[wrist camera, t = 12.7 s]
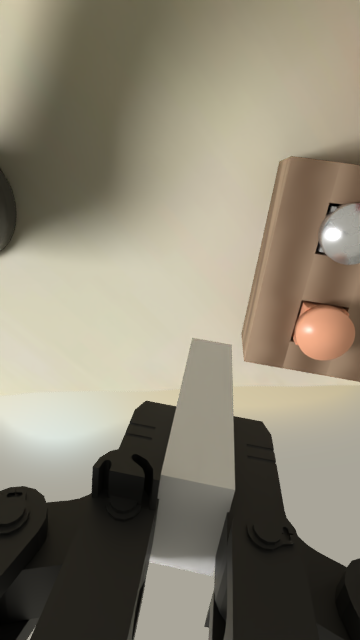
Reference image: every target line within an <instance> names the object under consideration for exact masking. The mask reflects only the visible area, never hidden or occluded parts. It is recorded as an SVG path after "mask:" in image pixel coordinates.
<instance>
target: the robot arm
mask: <svg viewBox="0 0 360 640" xmlns="http://www.w3.org/2000/svg"><path fill="white" fill-rule="evenodd" d="M15 222H16V207H15V201H14V197H13V193H12V191H11V188H10V186H9V183H8V181H7V179H6V178H5V176H4V174H3V173H2V171H1V170H0V251H1V250H2V249H3V248H4V247H5V246H6V245H7V244H8V242H9V241H10V239H11V237H12V234H13V232H14V228H15ZM273 450H274V449H273V443H272V437H271V434H270V433H269V431H268V430H267V428H266V427H265V425H264V424H263V422H261V421H255V420H251V419H245V418H240V417H235V416H233V381H232V345H230V344H224V343H218V342H213V341H207V340H201V339H195V338H192V342H191V346H190V350H189V355H188V359H187V363H186V368H185V372H184V376H183V381H182V385H181V389H180V394H179V398H178V402H177V407H176V406H171V405H166V404H160V403H155V402H150V401H145V402H144V403H143V404H141V405H140V406H139V407H138V408H137V409H135V411H134V414H133V416H132V419H131V421H130V424H129V426H128V428H127V430H126V433H125V436H124V438H123V440H122V443H121V445H120V447H119V449H118V450H113V451H110V452H108V453H107V454H105V455H103V456H102V457H100V458H99V459H98V461H97V462H96V463H95V465H94V466H93V477H92V493H91V494H89V495H87V496H85V497H82V498H80V499H75V500H70V501H59V502H49V503H46V501H45V498H44V496H43V495H42V494H41V493H39V492H38V491H37V490H36V489H32V488H28V487H24V486H21V487H10V488H7V489H5V490H2V491H0V640H27V638H28V637H29V635H30V634H31V632H32V631H33V629H34V628H35V630H34V632H33V634H32V636H31V639H30V640H134V637H135V632H136V627H137V622H138V617H139V612H140V607H141V603H142V598H143V593H144V587H145V579H146V574H147V569H148V564H149V562H152V563H157V564H160V565H165V566H170V567H174V568H179V569H183V570H187V571H192V572H196V573H201V574H205V575H209V576H213V572H214V568H215V587H214V592H213V596H212V599H211V602H210V606H209V610H208V614H207V618H206V622H205V627H209V640H360V559H356V560H353V561H351V563H350V564H349V565H348V567H345V566H343V565H341V564H340V563H338V562H336V561H334V560H332V559H330V558H328V557H326V556H324V555H322V554H321V553H319V552H317V551H316V550H314V549H313V548H311V547H309V546H308V545H307V544H306V543H304V541H302V540H301V539H300V538H299V537H298V535H297V533H296V530H295V528H294V527H293V526H292V524H291V523H290V522H289V521H288V519H287V518H286V515H285V511H284V506H283V500H282V494H281V489H280V483H279V478H278V472H277V466H276V464H275V462H276V460H275V454H274V452H273ZM35 626H36V627H35Z"/></svg>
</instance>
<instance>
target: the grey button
mask: <svg viewBox="0 0 360 640" xmlns="http://www.w3.org/2000/svg"><path fill="white" fill-rule="evenodd" d="M316 250H317V251H319V252H324V253H325V254H326V255H327V256H328V257H330V258H331V259H332V260H334V261H336V262H338V263H340V264H345V265H353V264H358V263H360V203H347V204H343V205H340V206H333V205H329V206H328V210H327V213H326V217H325V218H324V220H323V221H322V223H321V225H320V228H319V232H318V245H317V248H316Z"/></svg>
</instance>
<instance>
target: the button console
mask: <svg viewBox="0 0 360 640" xmlns="http://www.w3.org/2000/svg"><path fill="white" fill-rule="evenodd" d="M347 203H360V165H355V164H347V163H340V162H332V161H324V160H317V159H309V158H302V157H294V156H291V157H289V158H287V159H284V160H282V161H280V162H279V166H278V171H277V175H276V180H275V184H274V189H273V193H272V198H271V203H270V207H269V212H268V216H267V221H266V225H265V230H264V234H263V239H262V243H261V248H260V252H259V257H258V262H257V266H256V271H255V275H254V280H253V284H252V289H251V293H250V298H249V302H248V307H247V311H246V316H245V321H244V325H243V330H242V344H243V354H244V361H246V362H251V363H257V364H263V365H268V366H274V367H279V368H285V369H291V370H296V371H302V372H308V373H313V374H319V375H325V376H330V377H336V378H342V379H347V380H353V381H358V382H360V263H358V264H353V265H345V264H340V263H338V262H336V261H334V260H332V259H331V258H330V257H328V256H327V255H326V254H325V253H324V252H319V251H317V250H316V248H317V245H318V232H319V228H320V225H321V223H322V221H323V220H324V218H325V217H326V213H327V210H328V206H329V205H333V206H340V205H343V204H347ZM302 300H305V301H311V302H317V303H323V304H329V305H336V306H342V307H343V308H344V309H345V310H346V311H347V312H348V313H349V314H350V315H349V318H350V320H351V321H352V323H353V324H354V327H355V339H354V342H353V344H352V346H351V347H350V348H349V350H348V351H347V352H346V353H344V354H343V355H341V356H340V357H337V358H335V359H332V360H316V359H313V358H310V357H308V356H307V355H305V354H304V353H303V352H302V350H301V349H300V347H299V345H295V342H294V340H293V338H292V333H293V329H294V326H295V322H296V319H297V315H298V312H299V308H300V305H301V301H302Z"/></svg>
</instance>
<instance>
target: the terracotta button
mask: <svg viewBox="0 0 360 640" xmlns="http://www.w3.org/2000/svg"><path fill="white" fill-rule="evenodd" d="M349 315H350V314H349V313H348V312H347V311H346V310H345V309H344V308H343V307H342V306H336V305H329V304H323V303H317V302H311V301H305V300H302V301H301V305H300V308H299V312H298V315H297V319H296V322H295V326H294V329H293V333H292V338H293V340H294V342H295V345H299V347H300V349H301V350H302V352H303V353H304V354H305V355H307V356H308V357H310V358H313V359H316V360H332V359H335V358H337V357H340V356H341V355H343V354H344V353H346V352H347V351H348V350H349V348H350V347H351V346H352V344H353V342H354V339H355V327H354V324H353V323H352V321H351V320H350V318H349Z"/></svg>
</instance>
